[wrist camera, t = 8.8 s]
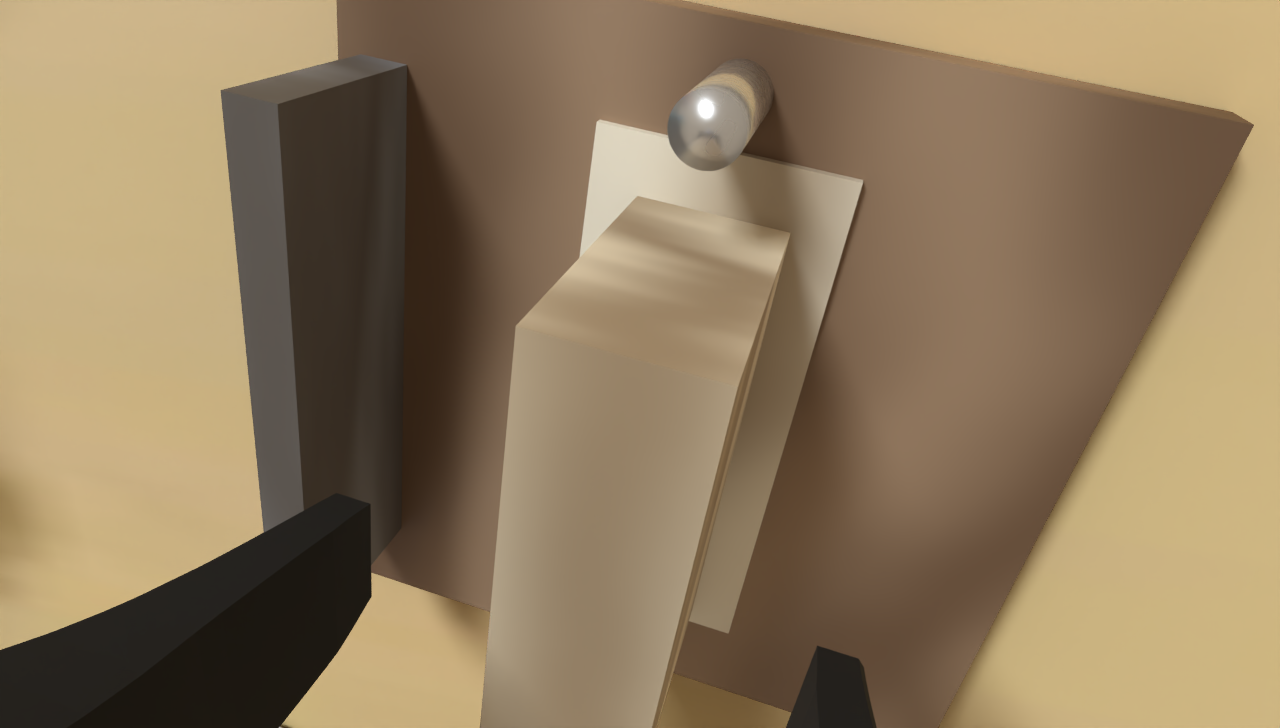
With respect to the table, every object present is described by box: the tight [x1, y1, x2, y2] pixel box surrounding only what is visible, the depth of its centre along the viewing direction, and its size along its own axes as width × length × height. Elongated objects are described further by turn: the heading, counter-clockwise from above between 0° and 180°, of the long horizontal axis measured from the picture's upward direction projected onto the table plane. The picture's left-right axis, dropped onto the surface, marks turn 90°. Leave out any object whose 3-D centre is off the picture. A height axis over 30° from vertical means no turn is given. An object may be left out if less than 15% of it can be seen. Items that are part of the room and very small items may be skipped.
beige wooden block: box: [480, 196, 790, 728], centre depth 16 cm, size 3×10×6 cm, turn 171°
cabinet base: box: [221, 0, 1254, 728], centre depth 17 cm, size 16×16×5 cm
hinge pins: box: [667, 59, 774, 171], centre depth 17 cm, size 1×15×3 cm, turn 171°
